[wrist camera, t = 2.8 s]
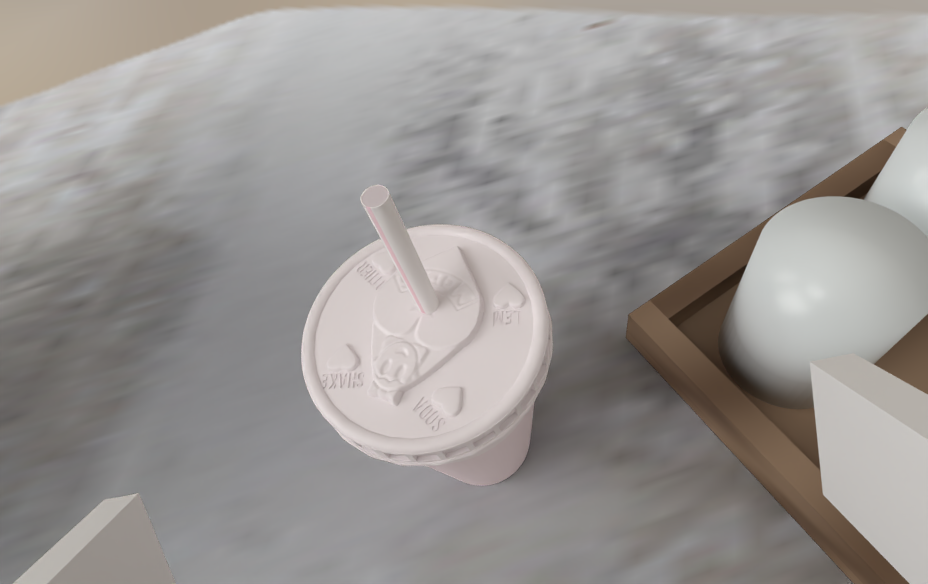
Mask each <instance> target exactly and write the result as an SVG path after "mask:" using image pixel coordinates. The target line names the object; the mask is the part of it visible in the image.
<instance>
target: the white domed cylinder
mask: <svg viewBox="0 0 928 584" xmlns="http://www.w3.org/2000/svg"><path fill="white" fill-rule="evenodd" d="M864 200H866V201H869V202H873V203H876V204H879V205H881V206H884V207H886V208H888V209H891V210H893V211H895V212H897V213H898V214H900V215H902V216H903V217H905V218H906V219H908V220H909V221H910V222H912V223H913V224H914V225H916V226H917V227H918V228H919V229H920V230H921V231H922V232H923V233H924V234H925V235H926V236H927V238H928V108H926V109H924V110H923V111H922V112H920V113H919V114H918V115H917V116H916V117H915V118H914V119H913V121H912V122H911V124H910V125H909V127H908V129H907V130H906V132H905V134H904V135H903V137H902V138H901V140H900V142H899V143H898V145H897V146H896V148H895V150H894V151H893V153H892V154H891V156H890V158H889V159H888V161H887V163H886V164H885V166H884V167H883V169H882V171H881V172H880V174H879V175H878V177H877V179H876V180H875V182H874V184H873V185H872V187H871V188H870V190H869V192H868V193H867V195H866V196H865V198H864Z"/></svg>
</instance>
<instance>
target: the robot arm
mask: <svg viewBox="0 0 928 584" xmlns="http://www.w3.org/2000/svg"><path fill="white" fill-rule="evenodd" d="M810 371H811V381H812V391H813V401H814V411H815V421H816V431H817V441H818V450H819V460H820V470H821V480H822V490H823V495H824V496H825V497H826V498H827V499H828V500H829V501H830V502H831V503H832V504H833V505H834V506H835V507H836V508H837V509H838V510H839V512H840V513H841V514H842V515H843V516H844V517H845V518H846V519H847V520H848V521H849V522H850V523H851V524H852V525H853V526H854V527H855V528H856V529H857V530H858V531H859V532H860V533H861V534H862V535H863V536H864V537H865V538H866V539H867V540H868V541H869V542H870V543H871V544H872V545H873V547H874V548H875V549H876V550H877V551H878V552H879V553H880V554H881V555H882V556H883V557H884V558H885V559H886V560H887V561H888V562H889V563H890V564H891V565H892V566H893V567H894V568H895V569H896V570H897V571H898V572H899V573H900V574H901V575H902V576H903V577H904V578H905V579H906V580H907V581H908V583H909V584H928V394H926V393H924V392H922V391H920V390H919V389H917V388H915V387H913V386H911V385H910V384H908V383H906V382H904V381H903V380H901V379H899V378H897V377H895V376H894V375H892V374H890V373H888V372H886V371H885V370H883V369H881V368H879V367H877V366H876V365H874V364H872V363H870V362H868V361H867V360H865V359H863V358H861V357H859V356H858V355H856V354H854V353H852V354H847V355H842V356H836V357H831V358H826V359H821V360H816V361H811V362H810ZM13 584H176V583H175V580H174V578H173V575H172V573H171V570H170V568H169V565H168V563H167V561H166V558H165V556H164V553H163V551H162V548H161V546H160V543H159V541H158V539H157V536H156V534H155V531H154V529H153V526H152V524H151V521H150V519H149V516H148V514H147V512H146V509H145V507H144V504H143V502H142V499H141V497H140V494H139V493H136V494H131V495H126V496H121V497H116V498H111V499H105V500H103V501H102V502H101V503H100V504H99V505H98V506H97V507H96V508H94V509H93V510H92V511H91V512H90V513H89V514H88V515H87V516H86V517H85V518H84V519H82V520H81V521H80V522H79V523H78V524H77V525H76V526H75V527H74V528H73V529H72V530H70V531H69V532H68V533H67V534H66V535H65V536H64V537H63V538H62V539H61V540H60V541H58V542H57V543H56V544H55V545H54V546H53V547H52V548H51V549H50V550H49V551H48V552H46V553H45V554H44V555H43V556H42V557H41V558H40V559H39V560H38V561H37V562H36V563H34V564H33V565H32V566H31V567H30V568H29V569H28V570H27V571H26V572H25V573H24V574H22V575H21V576H20V577H19V578H18V579H17V580H16V581H15V582H14V583H13Z"/></svg>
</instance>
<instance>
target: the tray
mask: <svg viewBox="0 0 928 584" xmlns="http://www.w3.org/2000/svg"><path fill="white" fill-rule="evenodd" d="M905 132H906V129H904V128H903V127H901V128H899V129H898V130H896V131H895V132H893V133H892V134H890V135H889V136H887V137H886V138H885V139H883V140H882V141H880V142H879V143H877V144H876V145H874V146H873V147H871V148H870V149H869V150H867V151H866V152H864V153H863V154H861V155H860V156H858V157H857V158H855V159H854V160H853V161H851V162H850V163H848V164H847V165H845V166H844V167H842V168H841V169H839V170H838V171H837V172H835V173H834V174H832V175H831V176H829V177H828V178H826V179H825V180H823V181H822V182H821V183H819V184H818V185H816V186H815V187H813V188H812V189H810V190H809V191H807V192H806V193H805V194H803V195H802V196H800V197H799V198H797V199H796V200H794V201H793V202H791V203H790V204H789V205H787V206H786V207H788V206H790V205H792V204H795V203H797V202H800V201H803V200H807V199H811V198H817V197H827V196H841V197H851V198H857V199H862V200H864V198H865V196H866V195H867V193H868V192H869V190H870V188H871V187H872V185H873V184H874V182H875V180H876V179H877V177H878V175H879V174H880V172H881V171H882V169H883V167H884V166H885V164H886V163H887V161H888V159H889V158H890V156H891V154H892V153H893V151H894V150H895V148H896V146H897V145H898V143H899V142H900V140H901V138H902V137H903V135H904V134H905ZM786 207H784V208H786ZM784 208H783V209H784ZM783 209H781V210H783ZM781 210H780V211H781ZM780 211H778V212H780ZM778 212H777V213H778ZM777 213H775V214H774V215H773V216H775V215H776V214H777ZM773 216H771V217H770V218H768V219H767V220H765V221H764V222H762V223H761V224H760V225H758V226H757V227H755V228H754V229H752V230H751V231H749V232H748V233H746V234H745V235H744V236H742V237H741V238H739V239H738V240H736V241H735V242H733V243H732V244H730V245H729V246H728V247H726V248H725V249H723V250H722V251H720V252H719V253H717V254H716V255H714V256H713V257H712V258H710V259H709V260H707V261H706V262H704V263H703V264H701V265H700V266H698V267H697V268H696V269H694V270H693V271H691V272H690V273H688V274H687V275H685V276H684V277H682V278H681V279H680V280H678V281H677V282H675V283H674V284H672V285H671V286H669V287H668V288H666V289H665V290H664V291H662V292H661V293H659V294H658V295H656V296H655V297H653V298H652V299H650V300H649V301H648V302H646V303H645V304H643V305H642V306H640V307H639V308H637V309H636V310H634V311H633V312H632V313H630V314H629V315H628V323H627V331H626V338H627V339H628V340H629V342H630V343H631V344H632V345H633V346H634V347H635V348H636V349H637V350H638V351H639V352H640V353H641V354H642V356H643V357H644V358H645V359H646V360H647V361H648V362H649V363H650V364H651V365H652V366H653V367H654V369H655V370H656V371H657V372H658V373H659V374H660V375H661V376H662V377H663V378H664V379H665V380H666V381H667V383H668V384H669V385H670V386H671V387H672V388H673V389H674V390H675V391H676V392H677V393H678V394H679V395H680V397H681V398H682V399H683V400H684V401H685V402H686V403H687V404H688V405H689V406H690V407H691V408H692V410H693V411H694V412H695V413H696V414H697V415H698V416H699V417H700V418H701V419H702V420H703V421H704V422H705V424H706V425H707V426H708V427H709V428H710V429H711V430H712V431H713V432H714V433H715V434H716V435H717V436H718V438H719V439H720V440H721V441H722V442H723V443H724V444H725V445H726V446H727V447H728V448H729V449H730V451H731V452H732V453H733V454H734V455H735V456H736V457H737V458H738V459H739V460H740V461H741V462H742V463H743V465H744V466H745V467H746V468H747V469H748V470H749V471H750V472H751V473H752V474H753V475H754V476H755V477H756V479H757V480H758V481H759V482H760V483H761V484H762V485H763V486H764V487H765V488H766V489H767V490H768V491H769V493H770V494H771V495H772V496H773V497H774V498H775V499H776V500H777V501H778V502H779V503H780V504H781V506H782V507H783V508H784V509H785V510H786V511H787V512H788V513H789V514H790V515H791V516H792V517H793V518H794V520H795V521H796V522H797V523H798V524H799V525H800V526H801V527H802V528H803V529H804V530H805V531H806V532H807V534H808V535H809V536H810V537H811V538H812V539H813V540H814V541H815V542H816V543H817V544H818V545H819V547H820V548H821V549H822V550H823V551H824V552H825V553H826V554H827V555H828V556H829V557H830V558H831V559H832V561H833V562H834V563H835V564H836V565H837V566H838V567H839V568H840V569H841V570H842V571H843V572H844V573H845V575H846V576H847V577H848V578H849V579H850V580H851V581H852V582H853V583H854V584H909V583H908V581H907V580H906V579H905V578H904V577H903V576H902V575H901V574H900V573H899V572H898V571H897V570H896V569H895V568H894V567H893V566H892V565H891V564H890V563H889V562H888V561H887V560H886V559H885V558H884V557H883V556H882V555H881V554H880V553H879V552H878V551H877V550H876V549H875V548H874V547H873V545H872V544H871V543H870V542H869V541H868V540H867V539H866V538H865V537H864V536H863V535H862V534H861V533H860V532H859V531H858V530H857V529H856V528H855V527H854V526H853V525H852V524H851V523H850V522H849V521H848V520H847V519H846V518H845V517H844V516H843V515H842V514H841V513H840V512H839V510H838V509H837V508H836V507H835V506H834V505H833V504H832V503H831V502H830V501H829V500H828V499H827V498H826V497H825V496H824V495H823V490H822V480H821V470H820V460H819V450H818V441H817V431H816V421H815V411H814V408H809V409H788V408H782V407H778V406H774V405H771V404H768V403H766V402H763V401H761V400H759V399H757V398H755V397H754V396H752V395H750V394H749V393H748V392H746V391H745V390H743V389H742V388H741V387H740V386H739V385H738V384H737V383H736V382H735V381H734V380H733V379H732V378H731V376H730V375H729V373H728V372H727V370H726V369H725V367H724V365H723V363H722V360H721V357H720V354H719V349H718V336H719V331H720V327H721V325H722V323H723V320H724V318H725V316H726V313H727V311H728V309H729V306H730V304H731V302H732V299H733V297H734V295H735V292H736V290H737V288H738V285H739V283H740V281H741V278H742V276H743V274H744V271H745V269H746V267H747V264H748V262H749V260H750V257H751V255H752V253H753V251H754V248H755V246H756V244H757V241H758V239H759V237H760V234H761V232H762V230H763V228H764V227H765V225H766V224H767V223H768V222H769V220H770V219H771V218H772V217H773ZM874 365H876V366H877V367H879V368H881V369H883V370H885V371H886V372H888V373H890V374H892V375H894V376H895V377H897V378H899V379H901V380H903V381H904V382H906V383H908V384H910V385H911V386H913V387H915V388H917V389H919V390H920V391H922V392H924V393H926V394H928V314H927V315H926V316H925V317H924V318H923V319H922V320H921V321H920V322H919V323H917V324H916V325H915V326H914V327H913V328H912V329H911V330H910V331H909V332H908V333H907V334H906V335H905V336H904V337H903V338H901V339H900V340H899V341H898V342H897V343H896V344H895V345H894V346H893V347H892V348H891V349H890V350H889V351H888V352H886V353H885V354H884V355H883V356H882V357H881V358H880V359H879V360H878V361H877V362H876V363H875V364H874Z"/></svg>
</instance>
